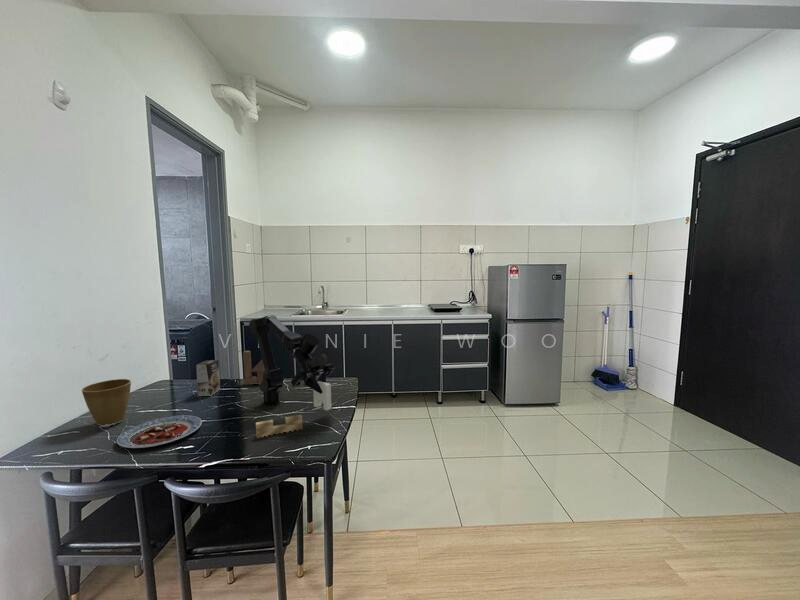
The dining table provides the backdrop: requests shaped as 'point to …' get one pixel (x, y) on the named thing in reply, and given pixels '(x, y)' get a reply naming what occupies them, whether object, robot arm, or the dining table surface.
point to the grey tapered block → (323, 396)
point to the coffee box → (208, 377)
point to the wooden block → (248, 371)
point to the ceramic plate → (159, 431)
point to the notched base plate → (278, 426)
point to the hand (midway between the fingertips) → (324, 392)
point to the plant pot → (108, 400)
